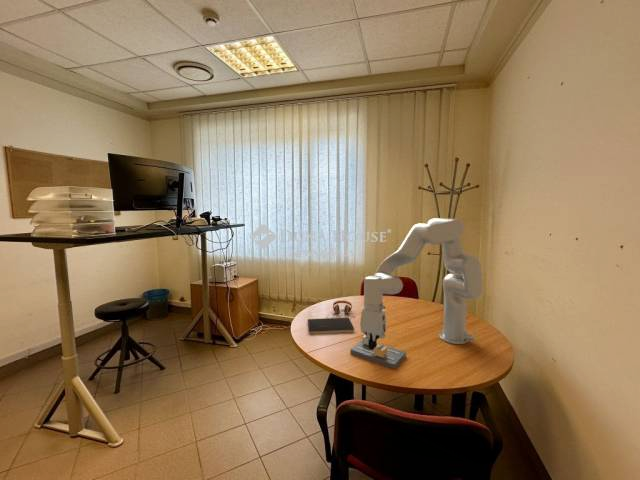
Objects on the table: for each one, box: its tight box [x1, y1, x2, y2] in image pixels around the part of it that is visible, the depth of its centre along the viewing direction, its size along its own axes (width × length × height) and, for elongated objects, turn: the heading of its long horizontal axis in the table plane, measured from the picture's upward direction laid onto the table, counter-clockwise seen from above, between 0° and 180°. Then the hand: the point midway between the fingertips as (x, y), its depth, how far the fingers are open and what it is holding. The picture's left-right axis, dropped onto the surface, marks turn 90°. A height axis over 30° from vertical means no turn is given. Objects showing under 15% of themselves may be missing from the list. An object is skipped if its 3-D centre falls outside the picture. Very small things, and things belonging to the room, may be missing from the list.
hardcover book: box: [307, 317, 355, 335], centre depth 151 cm, size 16×23×2 cm
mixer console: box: [350, 340, 407, 370], centre depth 121 cm, size 20×12×2 cm, turn 52°
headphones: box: [326, 300, 355, 321], centre depth 169 cm, size 17×5×20 cm
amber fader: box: [374, 343, 387, 358], centre depth 117 cm, size 4×4×4 cm
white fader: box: [361, 334, 369, 345], centre depth 127 cm, size 4×4×4 cm
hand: (372, 348), depth 119 cm, fingers closed
